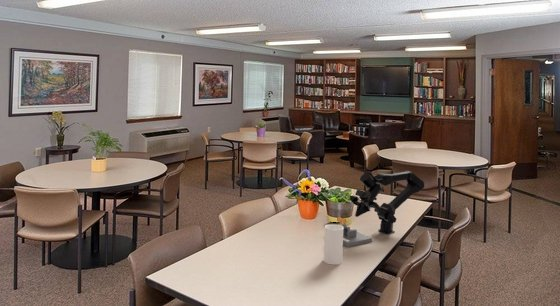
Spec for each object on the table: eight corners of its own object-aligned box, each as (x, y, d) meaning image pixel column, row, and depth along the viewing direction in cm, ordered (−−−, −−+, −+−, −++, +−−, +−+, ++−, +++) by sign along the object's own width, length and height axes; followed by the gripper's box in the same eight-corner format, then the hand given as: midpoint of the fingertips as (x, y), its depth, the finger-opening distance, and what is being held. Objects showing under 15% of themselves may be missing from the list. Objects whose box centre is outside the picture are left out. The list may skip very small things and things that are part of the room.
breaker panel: (348, 231, 236) (348, 222, 235) (371, 241, 221) (372, 231, 220) (325, 236, 227) (325, 226, 226) (348, 247, 212) (348, 236, 211)
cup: (329, 256, 200) (330, 223, 198) (345, 260, 195) (346, 226, 193) (320, 261, 193) (321, 227, 191) (336, 266, 188) (338, 231, 186)
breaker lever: (347, 231, 226) (338, 216, 222) (353, 233, 222) (345, 218, 217) (344, 233, 225) (336, 219, 221) (351, 236, 221) (342, 221, 217)
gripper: (352, 180, 233) (336, 203, 229) (377, 187, 217) (360, 211, 213) (362, 193, 238) (347, 215, 234) (387, 200, 223) (371, 224, 218)
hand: (355, 216), depth 225 cm, fingers closed
